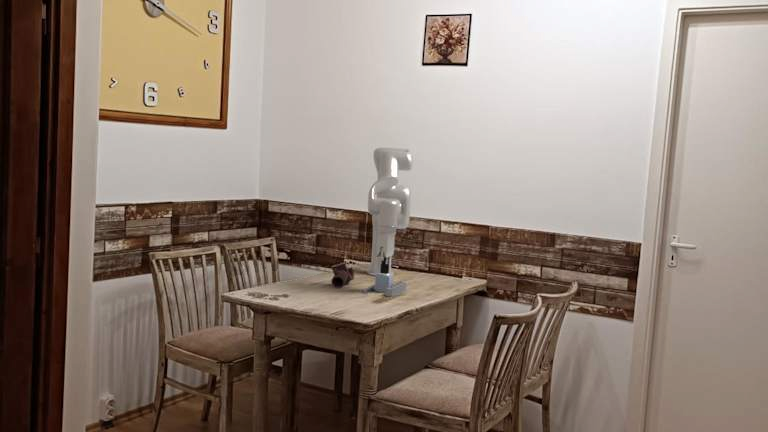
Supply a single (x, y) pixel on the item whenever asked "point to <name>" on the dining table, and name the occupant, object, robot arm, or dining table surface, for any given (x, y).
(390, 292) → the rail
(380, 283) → the module
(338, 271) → the brown pipe fitting
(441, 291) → the dining table surface
